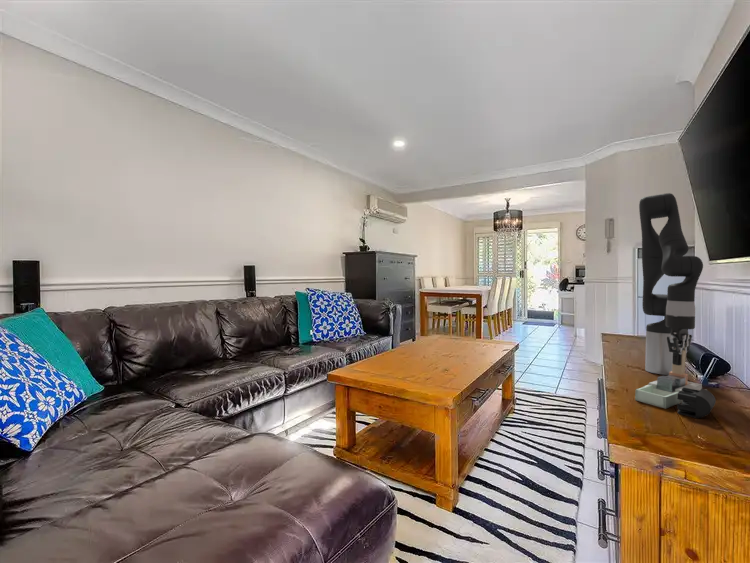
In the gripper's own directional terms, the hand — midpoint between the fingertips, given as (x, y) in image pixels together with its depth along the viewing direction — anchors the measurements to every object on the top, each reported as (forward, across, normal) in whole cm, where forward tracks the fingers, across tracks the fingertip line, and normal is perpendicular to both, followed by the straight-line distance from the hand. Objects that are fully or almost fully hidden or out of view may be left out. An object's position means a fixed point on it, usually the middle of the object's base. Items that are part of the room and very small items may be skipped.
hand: (678, 363), depth 117 cm
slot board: (+10, +2, 0) cm, 11 cm away
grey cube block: (+8, +4, 0) cm, 9 cm away
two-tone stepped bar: (+7, 0, 0) cm, 7 cm away
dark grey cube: (+8, +8, 0) cm, 11 cm away
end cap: (+11, +17, +10) cm, 22 cm away
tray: (+10, +15, 0) cm, 18 cm away
